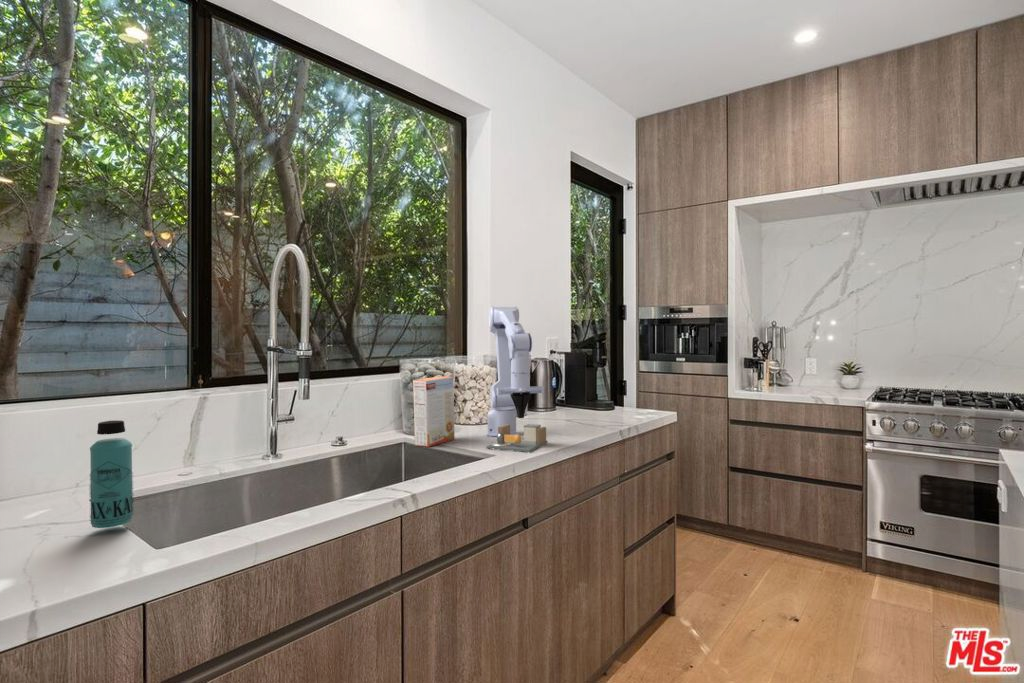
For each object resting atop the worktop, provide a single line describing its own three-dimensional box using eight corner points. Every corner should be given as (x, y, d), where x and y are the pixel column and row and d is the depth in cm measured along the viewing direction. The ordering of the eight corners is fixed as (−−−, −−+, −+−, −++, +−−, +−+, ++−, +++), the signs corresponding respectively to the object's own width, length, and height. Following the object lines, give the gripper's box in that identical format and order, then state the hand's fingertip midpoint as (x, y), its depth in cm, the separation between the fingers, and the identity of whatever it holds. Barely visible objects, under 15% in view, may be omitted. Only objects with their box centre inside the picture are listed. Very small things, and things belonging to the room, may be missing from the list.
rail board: (486, 448, 169) (486, 431, 168) (507, 439, 182) (507, 423, 182) (529, 452, 163) (529, 434, 163) (547, 443, 176) (547, 426, 176)
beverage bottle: (87, 530, 101) (84, 421, 101) (130, 521, 106) (128, 417, 106) (93, 539, 97) (90, 425, 96) (138, 530, 101) (136, 420, 101)
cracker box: (440, 438, 187) (440, 375, 186) (455, 439, 183) (454, 376, 183) (413, 445, 175) (412, 379, 174) (428, 447, 171) (427, 379, 171)
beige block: (523, 441, 173) (523, 425, 173) (528, 439, 177) (528, 423, 177) (536, 442, 171) (536, 426, 171) (541, 440, 175) (541, 424, 175)
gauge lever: (503, 441, 169) (503, 433, 169) (507, 440, 171) (506, 432, 171) (518, 443, 166) (518, 435, 166) (522, 442, 167) (522, 434, 167)
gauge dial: (488, 445, 169) (487, 434, 169) (496, 442, 175) (496, 431, 175) (505, 447, 167) (505, 435, 167) (514, 443, 172) (513, 432, 172)
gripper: (500, 374, 163) (500, 421, 163) (547, 373, 167) (547, 418, 167) (494, 373, 170) (495, 417, 170) (539, 371, 174) (540, 415, 174)
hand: (520, 417), depth 169 cm, fingers closed
